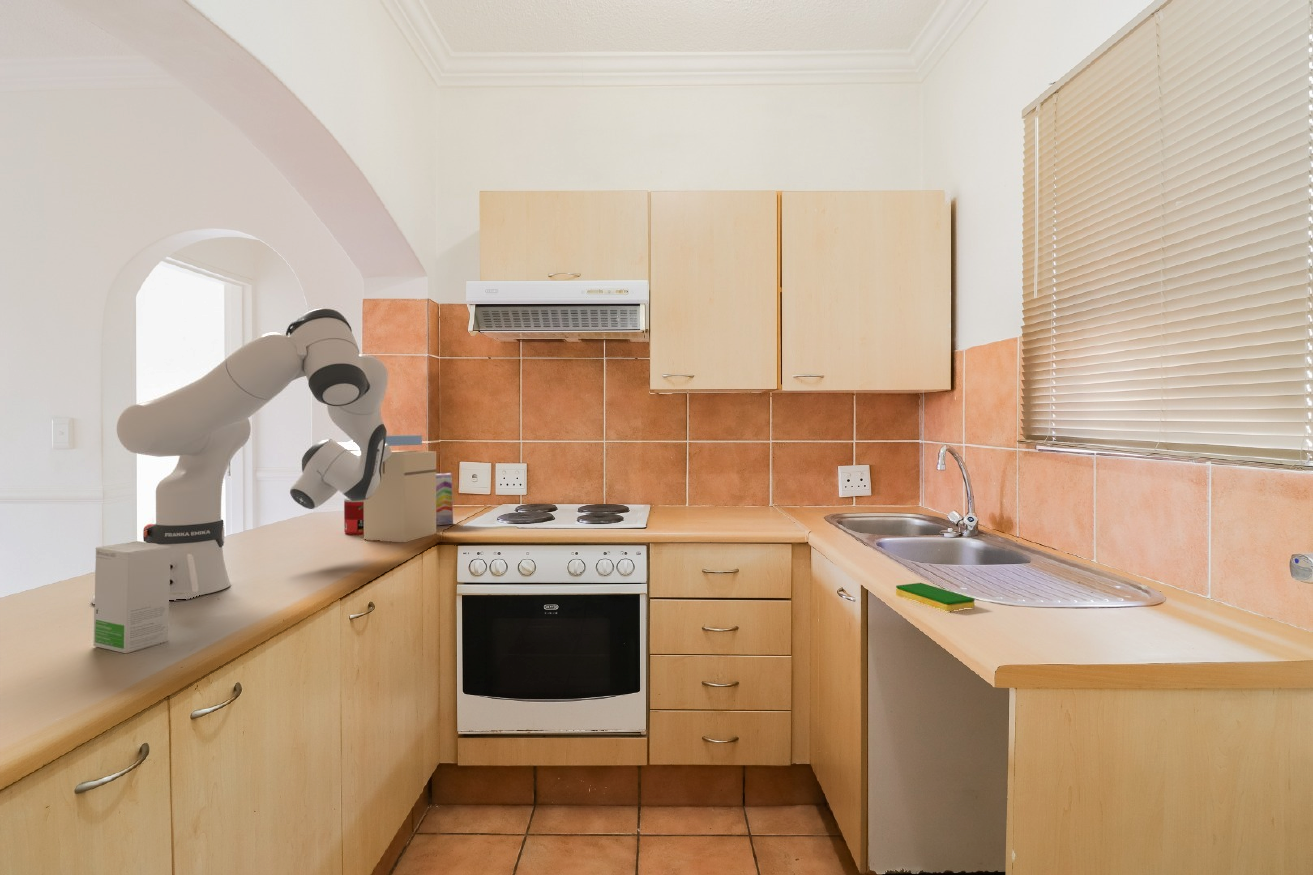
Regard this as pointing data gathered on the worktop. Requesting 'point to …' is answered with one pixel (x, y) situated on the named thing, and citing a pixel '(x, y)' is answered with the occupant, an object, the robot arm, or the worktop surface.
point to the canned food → (353, 517)
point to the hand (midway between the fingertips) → (370, 438)
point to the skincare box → (131, 596)
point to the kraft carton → (403, 498)
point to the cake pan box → (444, 499)
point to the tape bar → (403, 440)
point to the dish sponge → (935, 596)
